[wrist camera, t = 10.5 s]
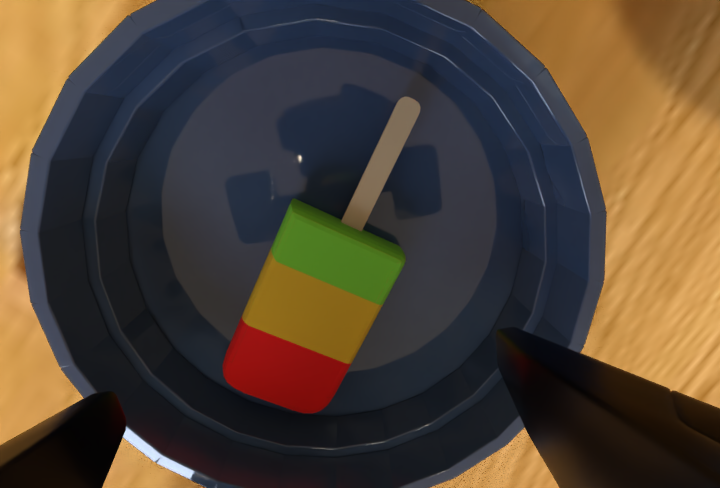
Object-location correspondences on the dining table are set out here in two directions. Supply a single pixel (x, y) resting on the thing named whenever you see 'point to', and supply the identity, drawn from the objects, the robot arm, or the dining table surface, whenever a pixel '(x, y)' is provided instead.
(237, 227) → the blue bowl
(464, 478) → the dining table surface
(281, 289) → the popsicle
